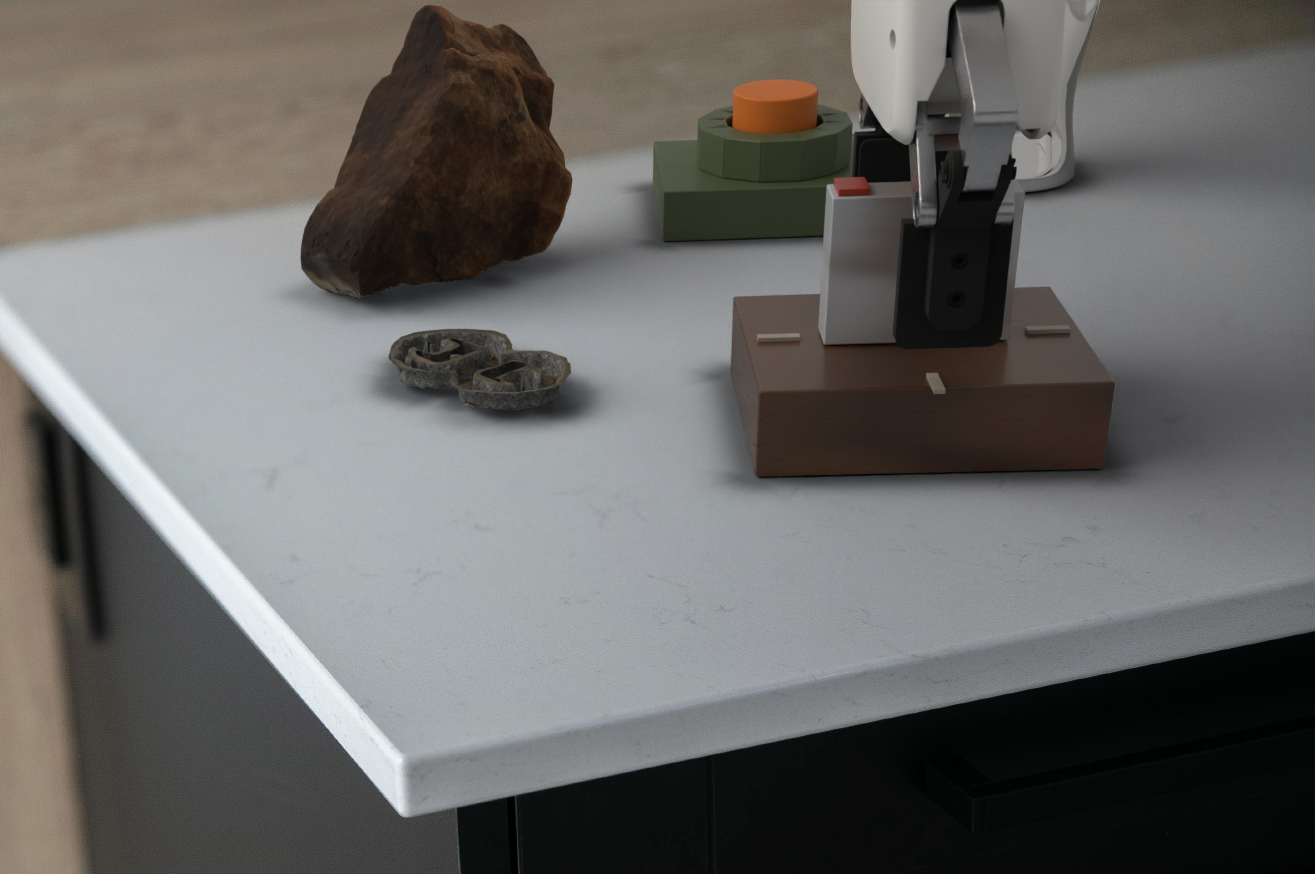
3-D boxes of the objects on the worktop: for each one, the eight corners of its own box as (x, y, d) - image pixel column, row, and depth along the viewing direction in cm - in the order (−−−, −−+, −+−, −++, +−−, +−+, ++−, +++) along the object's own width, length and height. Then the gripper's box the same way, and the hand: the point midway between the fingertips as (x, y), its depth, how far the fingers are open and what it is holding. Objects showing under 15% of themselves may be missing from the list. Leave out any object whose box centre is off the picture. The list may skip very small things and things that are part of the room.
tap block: (1037, 359, 72) (1047, 275, 70) (1109, 477, 63) (1122, 384, 61) (728, 368, 73) (731, 285, 71) (756, 485, 64) (761, 394, 63)
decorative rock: (517, 228, 89) (513, -21, 84) (599, 261, 84) (600, -1, 79) (284, 286, 84) (264, 26, 79) (358, 325, 79) (342, 51, 74)
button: (810, 117, 88) (812, 77, 88) (821, 139, 85) (823, 98, 84) (728, 120, 89) (730, 80, 88) (736, 142, 86) (737, 101, 85)
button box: (870, 179, 92) (877, 92, 90) (899, 233, 85) (906, 140, 83) (652, 188, 93) (653, 102, 91) (662, 241, 86) (664, 150, 84)
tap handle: (999, 323, 67) (1016, 169, 64) (1009, 340, 65) (1026, 184, 63) (817, 328, 67) (826, 176, 65) (823, 345, 66) (832, 191, 63)
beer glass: (920, 194, 89) (950, -162, 82) (930, 151, 95) (960, -186, 88) (1084, 199, 87) (1130, -166, 80) (1084, 155, 93) (1128, -190, 86)
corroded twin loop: (501, 433, 69) (501, 405, 68) (357, 374, 74) (356, 348, 74) (605, 393, 71) (605, 365, 71) (458, 339, 77) (457, 313, 76)
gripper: (1186, -255, 49) (1101, 387, 58) (1032, -308, 64) (983, 208, 73) (878, -235, 50) (838, 395, 59) (797, -293, 65) (775, 216, 74)
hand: (918, 291), depth 66 cm, fingers open, 9 cm apart
